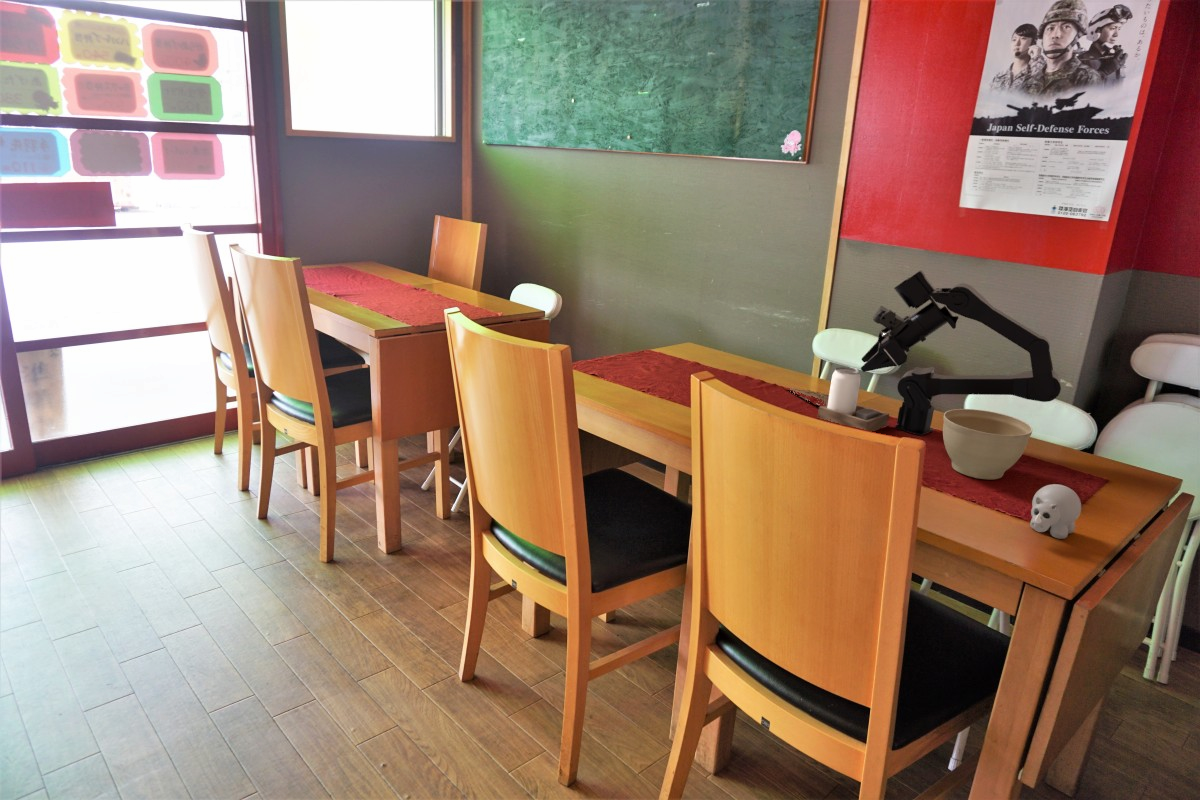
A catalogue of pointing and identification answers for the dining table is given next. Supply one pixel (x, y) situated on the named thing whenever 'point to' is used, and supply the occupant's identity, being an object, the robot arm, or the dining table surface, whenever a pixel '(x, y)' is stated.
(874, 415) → the grey block
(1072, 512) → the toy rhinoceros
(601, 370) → the dining table surface
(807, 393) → the wooden fragment
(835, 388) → the can
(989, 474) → the planter bowl
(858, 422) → the tray
